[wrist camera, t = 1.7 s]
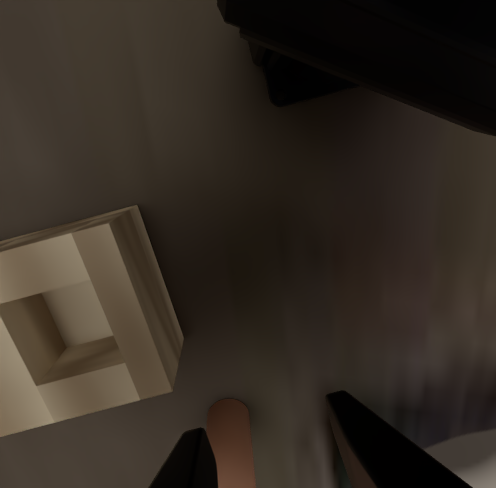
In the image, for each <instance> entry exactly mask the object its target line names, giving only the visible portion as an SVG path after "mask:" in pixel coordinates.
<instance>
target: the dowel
mask: <svg viewBox="0 0 496 488" xmlns="http://www.w3.org/2000/svg"><path fill="white" fill-rule="evenodd" d="M206 434H207V436H208V439H209V442H210V445H211V447H212V450H213V453H214V456H215V459H216V464H217V474H218V488H256V484H255V473H254V462H253V451H252V440H251V429H250V418H249V411H248V409H247V407H246V406H245V405H244V404H243V403H242V402H240V401H238V400H235V399H223V400H220V401H218V402H216V403H215V404H213V405H212V406H211V408H210V409H209V411H208V415H207V430H206Z"/></svg>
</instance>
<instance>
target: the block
mask: <svg viewBox="0 0 496 488" xmlns="http://www.w3.org/2000/svg"><path fill="white" fill-rule="evenodd" d="M183 341H184V337H183V334H182V331H181V328H180V325H179V323H178V320H177V317H176V314H175V311H174V308H173V305H172V303H171V300H170V297H169V294H168V291H167V288H166V285H165V283H164V280H163V277H162V274H161V271H160V268H159V266H158V263H157V260H156V257H155V254H154V251H153V248H152V246H151V243H150V240H149V237H148V234H147V231H146V228H145V226H144V223H143V220H142V217H141V214H140V211H139V208H138V206H137V205H134V206H130V207H127V208H123V209H119V210H115V211H112V212H108V213H104V214H100V215H97V216H93V217H89V218H85V219H82V220H78V221H74V222H70V223H67V224H63V225H59V226H55V227H52V228H48V229H44V230H40V231H37V232H33V233H29V234H25V235H22V236H18V237H14V238H10V239H7V240H3V241H0V437H2V436H5V435H9V434H13V433H17V432H21V431H24V430H28V429H32V428H36V427H40V426H43V425H47V424H51V423H55V422H59V421H62V420H66V419H70V418H74V417H78V416H82V415H85V414H89V413H93V412H97V411H101V410H104V409H108V408H112V407H116V406H120V405H123V404H127V403H131V402H135V401H139V400H142V399H146V398H150V397H154V396H158V395H161V394H165V393H169V392H173V388H174V383H175V378H176V374H177V369H178V364H179V360H180V355H181V350H182V346H183Z"/></svg>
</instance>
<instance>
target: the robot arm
mask: <svg viewBox="0 0 496 488" xmlns="http://www.w3.org/2000/svg"><path fill="white" fill-rule="evenodd" d="M217 6H218V8H219V10H220V12H221V15H222V17H223V19H224V21H225V22H226V23H228V24H231V25H233V26H236V27H238V28H240V32H239V33H240V38H243V39H245V40H248V42H249V47H250V51H251V55H252V60H253V63H255V64H256V65H257V66H263V70H264V75H265V79H266V84H267V88H268V93H269V97H270V100H271V102H272V103H273V104H274V105H275V106H277V107H282V106H286V105H290V104H294V103H297V102H301V101H305V100H309V99H312V98H316V97H320V96H324V95H327V94H331V93H335V92H339V91H342V90H346V89H350V88H353V87H357V86H363V87H365V88H368V89H370V90H373V91H375V92H378V93H380V94H383V95H385V96H388V97H390V98H393V99H395V100H398V101H400V102H403V103H405V104H408V105H410V106H413V107H415V108H418V109H420V110H423V111H425V112H428V113H430V114H433V115H435V116H438V117H440V118H443V119H445V120H448V121H450V122H453V123H455V124H458V125H460V126H463V127H465V128H468V129H470V130H473V131H476V132H480V133H484V134H488V135H493V136H496V0H217ZM278 90H282V91H284V93H285V98H284V100H278V99H277V97H276V92H277V91H278ZM326 403H327V408H328V412H329V416H330V421H331V425H332V429H333V432H334V436H335V439H336V442H337V445H338V448H339V450H340V453H341V456H342V459H343V462H344V465H345V468H346V471H347V474H348V477H349V480H350V483H351V485H352V488H473V487H471V486H470V485H469V484H467V483H466V482H465V481H463V480H462V479H461V478H459V477H458V476H457V475H455V474H454V473H453V472H452V471H450V470H449V469H448V468H446V467H445V466H444V465H442V464H441V463H440V462H438V461H437V460H435V459H434V458H433V457H432V456H430V455H429V454H428V453H426V452H425V451H424V450H423V449H421V448H420V447H419V446H417V445H416V444H415V443H413V442H412V441H411V440H409V439H408V438H407V437H406V436H404V435H403V434H402V433H400V432H399V431H398V430H396V429H395V428H394V427H392V426H391V425H390V424H388V423H387V422H386V421H384V420H383V419H382V418H381V417H379V416H378V415H377V414H375V413H374V412H373V411H371V410H370V409H369V408H367V407H366V406H365V405H363V404H362V403H361V402H359V401H358V400H357V399H356V398H354V397H353V396H352V395H350V394H349V393H348V392H346V391H344V390H341V391H337V392H333V393H329V394H327V395H326ZM149 488H218V474H217V464H216V459H215V456H214V453H213V450H212V447H211V445H210V442H209V439H208V436H207V434H206V431H205V430H204V428H201V427H200V428H196V429H192V430H188V431H186V432H184V433H183V434H182V435H181V437H180V439H179V440H178V442H177V443H176V445H175V446H174V448H173V450H172V451H171V453H170V454H169V456H168V458H167V459H166V461H165V462H164V464H163V465H162V467H161V469H160V470H159V472H158V473H157V475H156V477H155V478H154V480H153V481H152V483H151V484H150V486H149Z"/></svg>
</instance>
